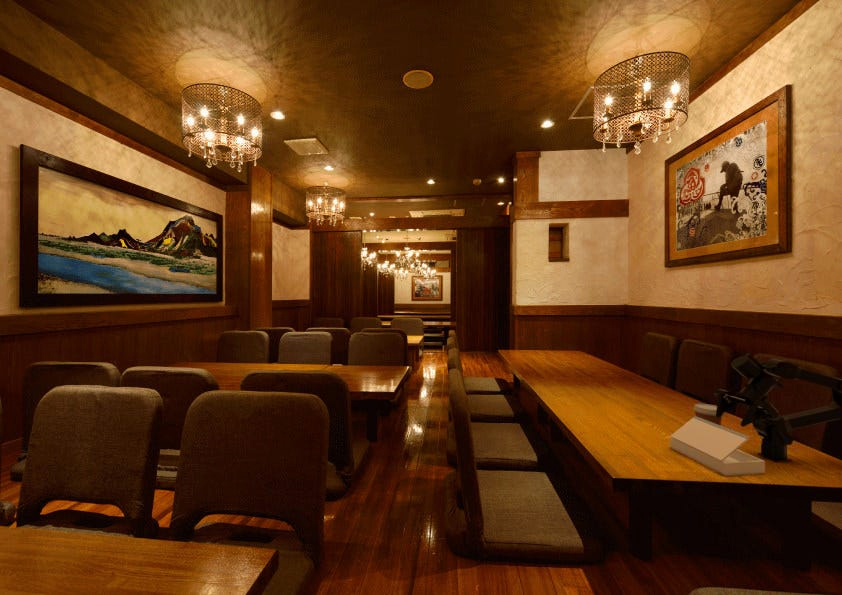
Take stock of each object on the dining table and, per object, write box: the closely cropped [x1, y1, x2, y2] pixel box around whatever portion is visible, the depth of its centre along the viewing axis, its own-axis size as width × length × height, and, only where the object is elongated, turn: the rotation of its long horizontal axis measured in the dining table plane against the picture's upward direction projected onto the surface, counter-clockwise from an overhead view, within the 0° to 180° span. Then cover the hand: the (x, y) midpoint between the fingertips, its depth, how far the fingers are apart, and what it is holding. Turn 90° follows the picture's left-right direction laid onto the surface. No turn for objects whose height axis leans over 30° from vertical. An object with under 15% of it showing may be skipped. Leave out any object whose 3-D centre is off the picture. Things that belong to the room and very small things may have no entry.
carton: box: [669, 436, 766, 477], centre depth 130 cm, size 14×22×4 cm, turn 7°
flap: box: [670, 415, 751, 461], centre depth 130 cm, size 12×21×1 cm
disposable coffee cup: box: [693, 403, 724, 426], centre depth 151 cm, size 10×10×12 cm
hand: (728, 421), depth 131 cm, fingers open, 9 cm apart
